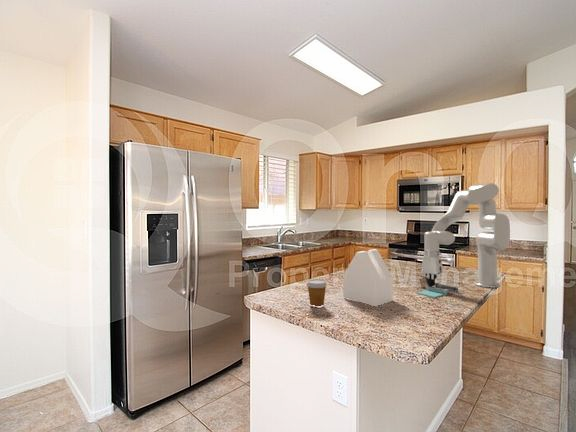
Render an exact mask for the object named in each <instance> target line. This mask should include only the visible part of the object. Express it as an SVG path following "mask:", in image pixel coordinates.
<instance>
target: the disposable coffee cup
mask: <svg viewBox="0 0 576 432" xmlns="http://www.w3.org/2000/svg"><path fill="white" fill-rule="evenodd" d="M306 286H307V290H308V297H309V305H310V304H311V305H315V306H321V305H325V297H326V296H325V295H326V287H327V282H326V280H324V279H319V278H318V279H317V278H315V279H309V280H308V281H307V283H306Z"/></svg>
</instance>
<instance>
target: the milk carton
mask: <svg viewBox="0 0 576 432" xmlns="http://www.w3.org/2000/svg"><path fill="white" fill-rule="evenodd" d="M393 285H394V279H393V275H392V274H391V272H390V269H389V268H388V266H387V264H386V263H385V261H384V259H383V256H382V255H381V253H380V252H379V250H378V248H377V249H376V248H374V249H368V250H362V251H361V250H360V251H357V252H355V255H354V256H353V258H352V259H351V262H350V263H349V264H348V266H347V269H346V271H345V272H344V274H343V276H342V298H343V297H346V298H349V299H352V300H356V301H359V302H362V303H366V304H369V305H373V306H377V305H380V306H381V304H382V305H385V304H388V303H390V302H392V301H394V286H393ZM362 303H361V304H362ZM384 303H385V304H384ZM366 304H365V305H366ZM369 305H368V306H369ZM373 306H372V307H373ZM377 307H378V306H377Z"/></svg>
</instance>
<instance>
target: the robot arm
mask: <svg viewBox="0 0 576 432" xmlns="http://www.w3.org/2000/svg"><path fill="white" fill-rule="evenodd" d="M499 192H500V189H499V186H498V185H497V184H496V183H494V182H489V183H488V182H487V183H486V182H485V183H478V184H477V183H476V184H473V185H472V184H471V186H469V187H468V189H464V190H459V191H457V192H456V193H455V194H454V197H453V199H452V200H451V201H452V202H451V203H450V206H449V207H448V209H447V211H446V213H445V214H443V215H442V216H441V217H440V218H439V219H438V220H437V221H436V222H435V224H434V225H433V227H432V229H431V231H426V232H424V236H423V237H424V246H423V247H424V255H423V256H422V262H421V271H422V275H425V277H427V278H428V283H429V286H432V287H435V283H436V279H437V278H440V277H442V274H443V262H442V261H443V260H442V257H441V255H442V252H440V245H445V246H449V245H451V244H453V243H454V242H455V240H456V236H455V234H453V232H450V231H448V230H447V229H448V227H449V226H451V225H452V224H455V223H458V222H459V221H460V220H462V219H463V217H464V216H465V213H466V211H467V210H468V207H469V206H473V205H478V224H479V227H480V228H481V229H484V230H491V231H481V232H479V233H478V234H477V235H476V239H475V242H476V243H475V244H476V247H477V281H475V282H474V285H476V286H478V287H483V288H489V287H490V288H493V289H494V288H495V289H496V288H501V283H499V282H498V281H500V278H499V277H498V253H497V250H498V251H499V250H500V251H503V250H506V249H507V248H509V246H510V242H511V222H510V219H509V217H508V216H507V215H506V214H504V213H497V206H496V201H495V199H494V198H495V197H496V196H498V195H499ZM446 230H447V231H446ZM490 288H489V289H490Z"/></svg>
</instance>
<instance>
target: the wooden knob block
mask: <svg viewBox="0 0 576 432" xmlns="http://www.w3.org/2000/svg"><path fill="white" fill-rule="evenodd" d="M418 282H419V285H420V288H421V289H422V288H425V285H429V283H428V278H427V276H423V277H421V278H419V279H418Z"/></svg>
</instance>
